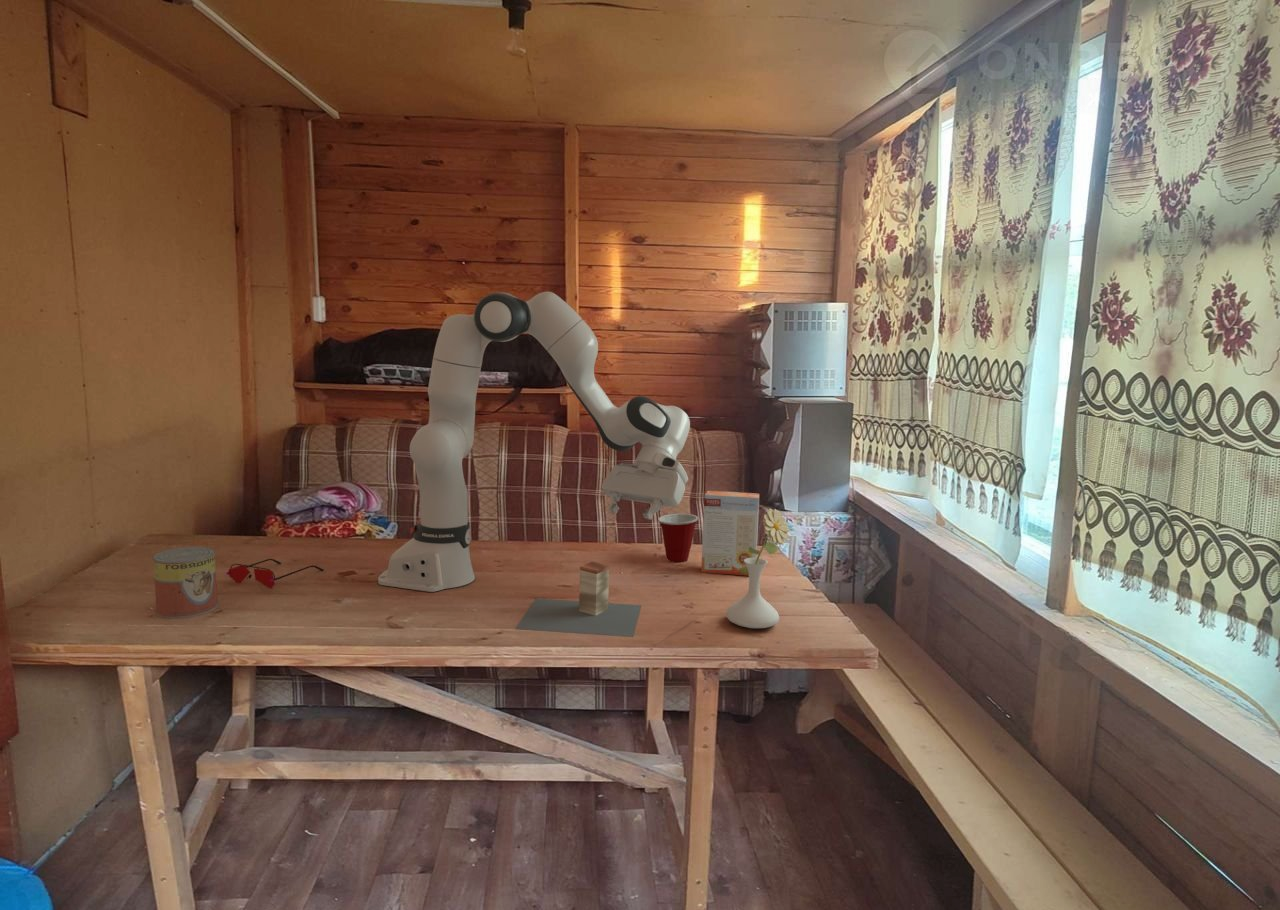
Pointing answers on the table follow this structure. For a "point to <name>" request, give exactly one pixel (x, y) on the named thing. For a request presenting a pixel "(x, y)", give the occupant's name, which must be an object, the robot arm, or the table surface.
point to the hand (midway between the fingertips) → (629, 514)
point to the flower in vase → (752, 605)
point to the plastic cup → (678, 535)
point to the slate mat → (580, 618)
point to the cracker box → (729, 531)
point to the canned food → (185, 582)
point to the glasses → (258, 573)
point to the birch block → (594, 588)
